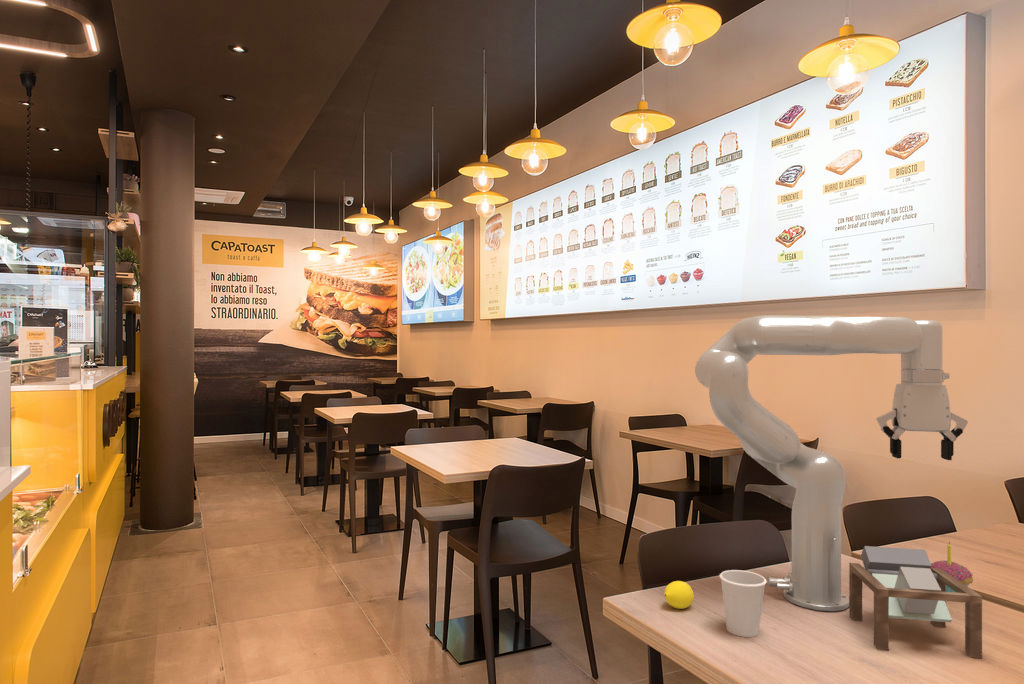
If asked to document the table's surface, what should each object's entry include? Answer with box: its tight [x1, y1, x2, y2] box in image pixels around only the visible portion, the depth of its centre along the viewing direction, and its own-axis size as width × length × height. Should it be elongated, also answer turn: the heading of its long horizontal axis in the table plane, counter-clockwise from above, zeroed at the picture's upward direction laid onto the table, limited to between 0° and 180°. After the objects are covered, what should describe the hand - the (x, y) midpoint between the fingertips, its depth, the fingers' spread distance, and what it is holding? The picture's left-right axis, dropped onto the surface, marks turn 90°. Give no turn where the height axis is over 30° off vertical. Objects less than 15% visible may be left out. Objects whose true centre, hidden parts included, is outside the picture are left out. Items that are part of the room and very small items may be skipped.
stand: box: [848, 562, 983, 659], centre depth 120 cm, size 17×15×11 cm
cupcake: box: [930, 541, 974, 593], centre depth 142 cm, size 9×8×12 cm
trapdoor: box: [860, 545, 953, 623], centre depth 123 cm, size 12×14×3 cm
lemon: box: [663, 580, 695, 610], centre depth 132 cm, size 7×5×5 cm
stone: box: [894, 567, 942, 614], centre depth 118 cm, size 5×5×6 cm
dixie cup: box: [719, 569, 768, 638], centre depth 122 cm, size 8×8×10 cm
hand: (921, 458), depth 138 cm, fingers open, 9 cm apart
